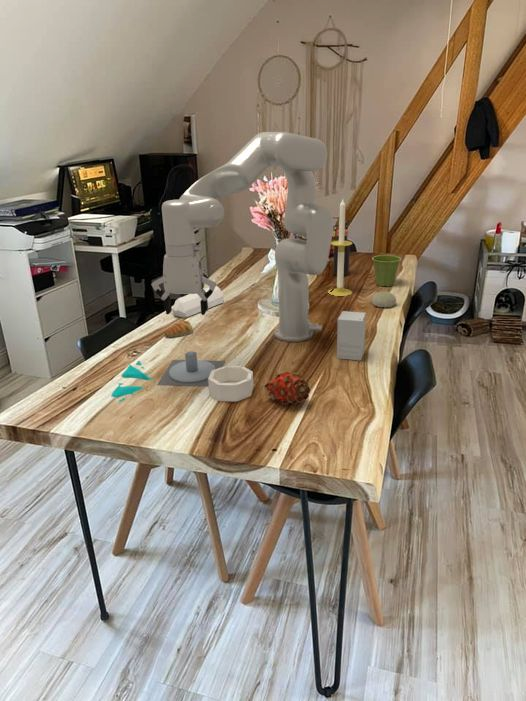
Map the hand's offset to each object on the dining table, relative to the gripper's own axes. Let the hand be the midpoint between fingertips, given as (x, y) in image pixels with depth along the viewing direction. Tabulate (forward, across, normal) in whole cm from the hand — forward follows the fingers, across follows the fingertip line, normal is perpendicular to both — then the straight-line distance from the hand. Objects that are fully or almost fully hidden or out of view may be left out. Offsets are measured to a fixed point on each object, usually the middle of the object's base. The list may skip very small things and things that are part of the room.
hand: (186, 312), depth 140 cm
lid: (+18, 0, 0) cm, 18 cm away
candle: (+18, -43, -75) cm, 89 cm away
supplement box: (+18, -45, -15) cm, 51 cm away
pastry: (+19, +11, -30) cm, 37 cm away
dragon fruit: (+18, -28, +14) cm, 36 cm away
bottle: (+18, -44, -101) cm, 112 cm away
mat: (+18, 0, 0) cm, 18 cm away
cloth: (+19, +15, +6) cm, 25 cm away
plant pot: (+18, -62, -87) cm, 109 cm away
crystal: (+19, +10, -54) cm, 58 cm away
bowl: (+18, -13, +10) cm, 25 cm away
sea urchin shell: (+18, -59, -61) cm, 87 cm away
